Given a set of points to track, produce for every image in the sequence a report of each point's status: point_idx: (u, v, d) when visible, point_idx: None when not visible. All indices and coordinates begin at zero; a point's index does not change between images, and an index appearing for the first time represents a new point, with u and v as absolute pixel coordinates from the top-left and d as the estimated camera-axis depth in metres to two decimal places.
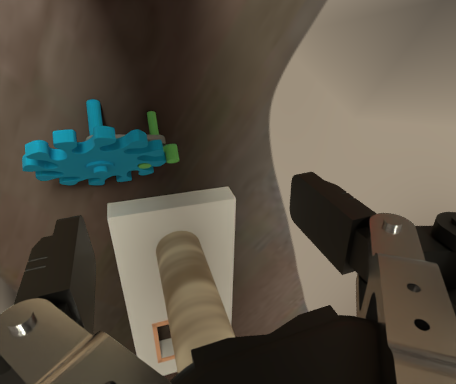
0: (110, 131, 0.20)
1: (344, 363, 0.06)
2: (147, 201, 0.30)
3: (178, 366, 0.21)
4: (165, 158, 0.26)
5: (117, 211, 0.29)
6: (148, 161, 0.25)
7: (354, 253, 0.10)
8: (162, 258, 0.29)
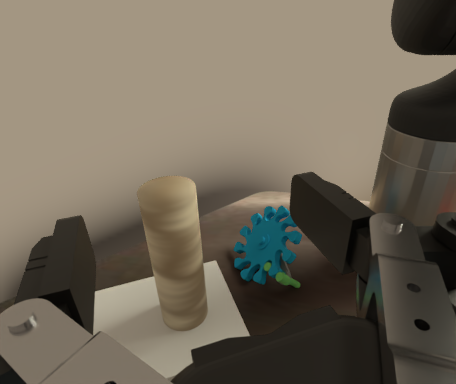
0: None
1: (344, 363, 0.06)
2: None
3: None
4: None
5: None
6: (274, 261, 0.35)
7: (354, 253, 0.10)
8: None
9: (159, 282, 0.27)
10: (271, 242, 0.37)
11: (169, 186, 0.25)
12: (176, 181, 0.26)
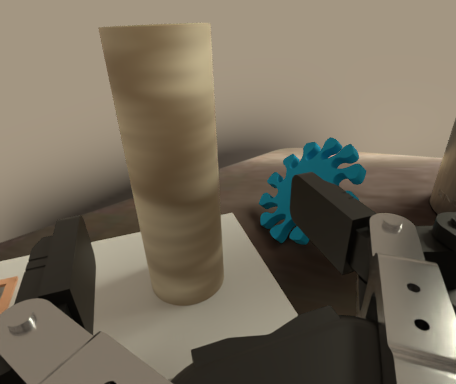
0: (356, 154, 0.25)
1: (344, 363, 0.06)
2: None
3: None
4: None
5: None
6: None
7: (354, 253, 0.10)
8: None
9: (143, 214, 0.16)
10: None
11: None
12: None
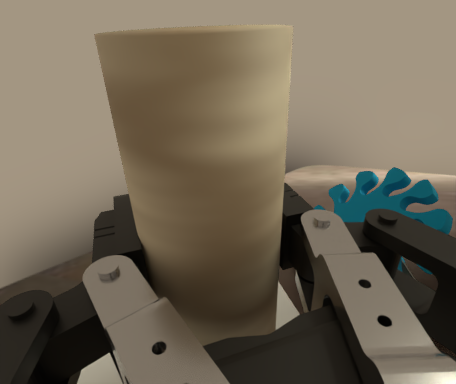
0: (435, 193, 0.19)
1: (344, 363, 0.06)
2: None
3: None
4: None
5: None
6: None
7: (291, 249, 0.10)
8: None
9: None
10: None
11: (202, 28, 0.08)
12: (221, 26, 0.08)
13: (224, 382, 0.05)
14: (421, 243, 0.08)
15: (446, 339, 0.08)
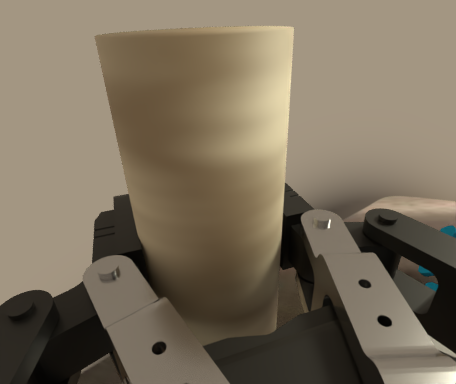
0: None
1: (344, 363, 0.06)
2: None
3: None
4: None
5: None
6: None
7: (291, 249, 0.10)
8: None
9: None
10: None
11: (203, 30, 0.08)
12: (222, 28, 0.08)
13: (224, 382, 0.05)
14: (421, 243, 0.08)
15: (446, 339, 0.08)
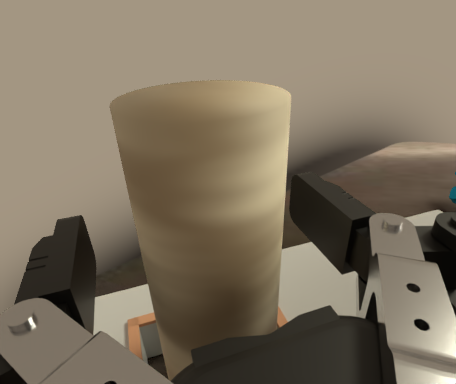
0: None
1: (344, 363, 0.06)
2: None
3: None
4: None
5: None
6: None
7: (354, 253, 0.10)
8: None
9: (172, 357, 0.11)
10: None
11: (208, 92, 0.08)
12: (225, 85, 0.09)
13: None
14: None
15: None
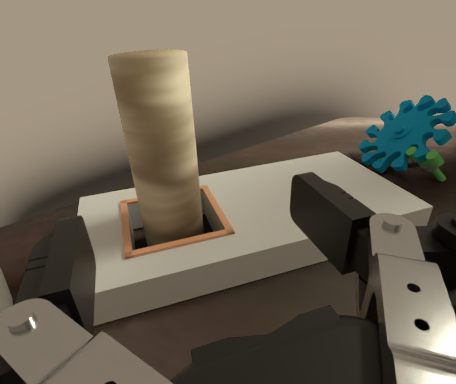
0: (449, 105, 0.32)
1: (344, 363, 0.06)
2: None
3: None
4: None
5: None
6: (421, 144, 0.31)
7: (354, 253, 0.10)
8: None
9: (140, 191, 0.21)
10: (414, 129, 0.33)
11: (152, 53, 0.19)
12: (162, 51, 0.19)
13: None
14: None
15: None
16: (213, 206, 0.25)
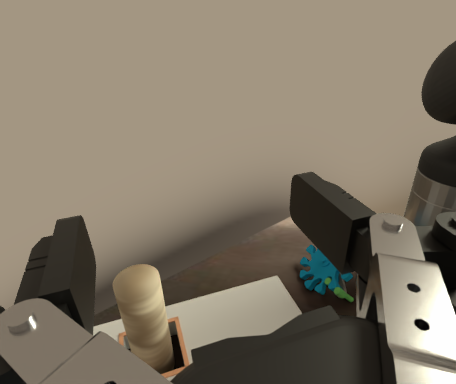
0: None
1: (344, 363, 0.06)
2: None
3: None
4: None
5: None
6: (334, 278, 0.44)
7: (354, 253, 0.10)
8: None
9: (131, 347, 0.34)
10: None
11: (138, 277, 0.32)
12: (145, 271, 0.32)
13: None
14: None
15: None
16: (180, 341, 0.38)
